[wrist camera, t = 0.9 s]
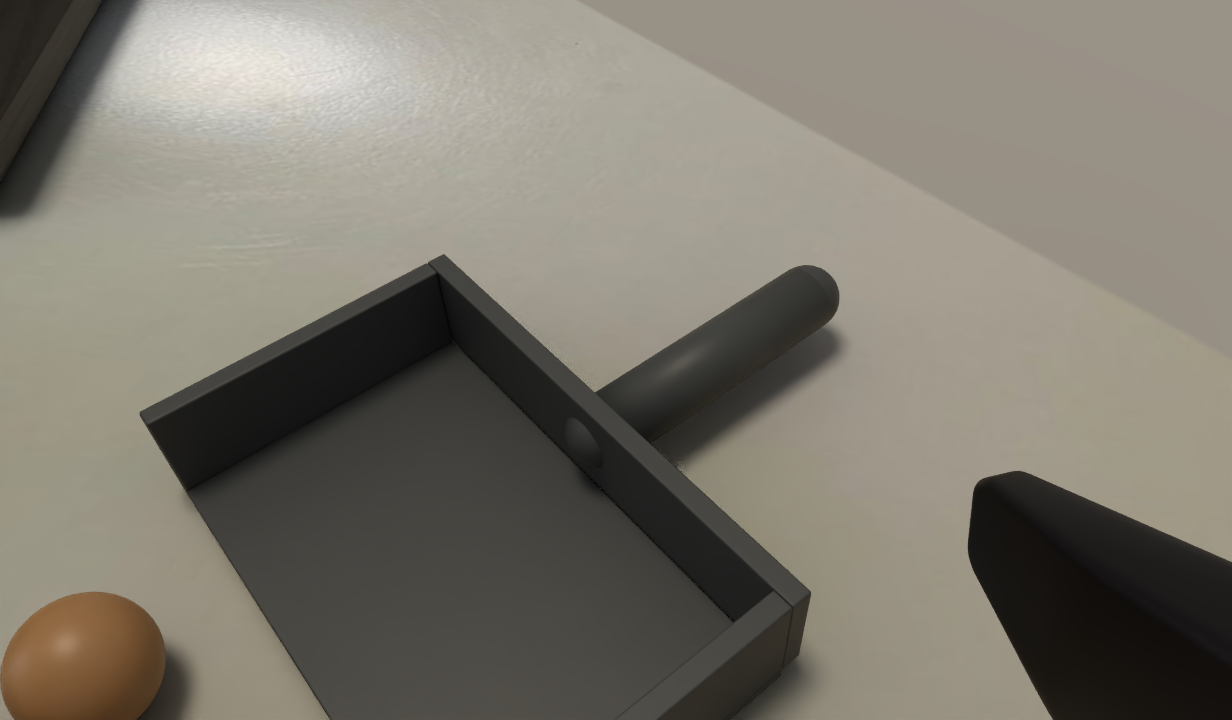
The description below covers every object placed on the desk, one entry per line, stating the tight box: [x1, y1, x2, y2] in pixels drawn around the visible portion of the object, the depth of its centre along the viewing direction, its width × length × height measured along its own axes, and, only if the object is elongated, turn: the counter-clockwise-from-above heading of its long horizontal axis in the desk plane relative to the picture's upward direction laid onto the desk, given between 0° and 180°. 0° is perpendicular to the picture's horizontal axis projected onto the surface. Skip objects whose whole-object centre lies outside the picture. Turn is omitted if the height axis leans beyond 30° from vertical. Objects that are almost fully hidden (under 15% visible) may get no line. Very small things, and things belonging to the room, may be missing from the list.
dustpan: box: [140, 254, 839, 720], centre depth 27 cm, size 19×15×3 cm
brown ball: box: [0, 592, 166, 720], centre depth 23 cm, size 3×3×3 cm
